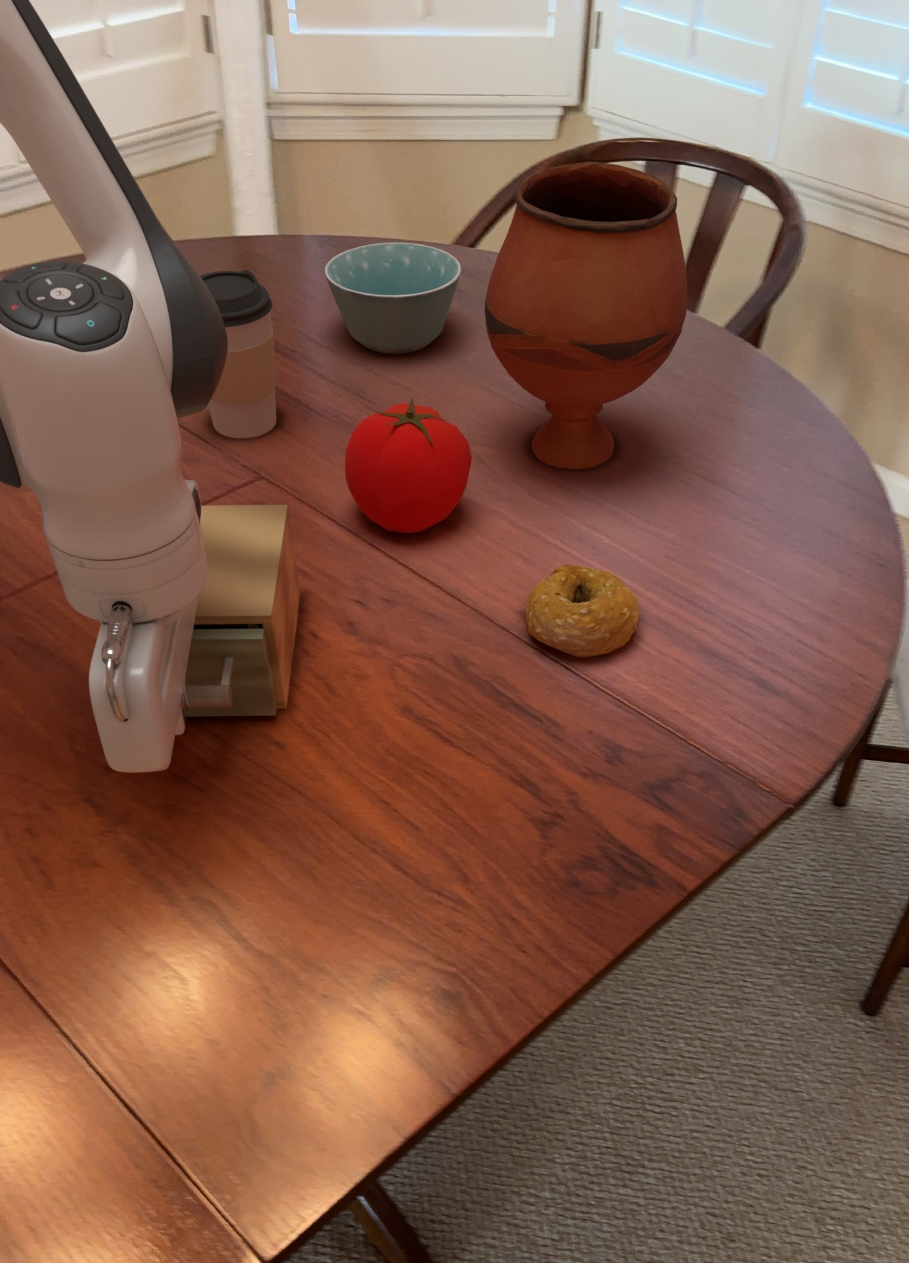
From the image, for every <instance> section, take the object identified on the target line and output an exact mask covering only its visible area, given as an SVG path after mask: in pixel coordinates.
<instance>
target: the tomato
mask: <svg viewBox="0 0 909 1263" xmlns="http://www.w3.org/2000/svg"><path fill="white" fill-rule="evenodd" d="M413 399H414V398H411V399H410V401H409V403H408V402H407V403H406V402H404V403H397V404H396V403H395V404H392V405H391V406H390V407H389V408H387V409H386V410H385V411H383V412H382V411H376V410H372V412H373V414H371V415H369V416H367V417H365V418H364V419H362V420H361V421H360V422H359V423H358V424H357V426H356V427H355V429H354V430H353V432H352V433H351V435H350V438H349V441H348V443H347V446H346V449H345V456H344V457H345V458H344V472H345V473H344V474H345V480H346V485H347V488H348V490H349V493H350V494H351V496H352V498H353V500H354V502H355V504H356V505H357V506H358V507H359V509H360V510H361V512H363V513H364V515H365V516H366V517H367V519H369V520H370V521H372V522H374V524H377V525H379V526H380V527H382V528H383V529H385V530H386V531H389V532H395V533H400V534H413V533H421V532H423V531H425V530H428V529H429V528H431V527H433V526H435V525H437V524H438V523H441V522H443V521H444V520H446V519H447V518H448V517H449V516H450V514H451V513H452V512H453V511H454V510H455V508H456V507H457V506H458V505H459V503H460V502H461V500H462V497H463V495H464V492H465V490H466V488H467V485H468V483H469V477H470V471H471V465H472V460H473V457H472V452H471V447H470V442H469V440H468V439H467V438H466V436H465V435H464V434H463V433H462V431H461V430H460V429H459V427H458V426H457V425H455V424H452V423H450V422H449V420H448V419H444V418H443V416H442V415H441V414H440V412H438V411H437V410H436V409H434V408H432V407H430V406H424V405H418V404H415V403H414V400H413Z"/></svg>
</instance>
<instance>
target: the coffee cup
mask: <svg viewBox="0 0 909 1263" xmlns="http://www.w3.org/2000/svg"><path fill="white" fill-rule="evenodd" d="M199 276H200V277H201V279H202V280H203V281H204V283H205V285H206V286H207V288H208V289H209V291H210V293H211V295H212V296H213V298H214V300H215V302H216V304H217V306H218V308H219V311H220V313H221V316H222V319H223V322H224V325H225V329H226V333H227V340H228V350H227V356H226V361H225V366H224V369H223V372H222V376H221V378H220V381H219V384H218V386H217V388H216V391H215V393H214V395H213V396H212V398H211V400H210V402H209V404H208V405H207V407H208V409H209V410H208V411H209V414H210V417H211V422H212V425H213V428H214V430H215V431H216V432H217V433H219V434H220V435H223V436H225V437H228V438H233V439H250V438H256V437H260V436H263V435H265V434H266V433H267V434H268V432H270V431H272V430H273V428H274V427H275V426H276V424H277V404H276V387H277V386H276V384H277V383H276V361H275V357H276V356H275V338H274V336H275V335H274V327H273V325H272V309H273V300H272V299H271V297H270V293H269V291H268V289H266V288H265V287H264V286H263V285H262V284H260V283H259V281H258V279H257V277H256V275H255V274H254V273H253V272H252V271H250V270H249V269H243V270H240V271H235V270H218V271H212V272H207V273H204V274H202V275H199Z"/></svg>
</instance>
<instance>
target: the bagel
mask: <svg viewBox="0 0 909 1263" xmlns="http://www.w3.org/2000/svg"><path fill="white" fill-rule="evenodd" d="M639 617H640V607H639V601H638V597H637V596H636V594H635V593H634V592H633V591H631V589H630V588H629V587H628V586H626V585H625V584H624V582H623V581H622V579H621V578H619V577H618V576H616V575H615V574H613V573H612V572H609V571H606V570H600V569H597V568H591V567H587V566H582V565H578V564H577V565H575V564H564V565H560V566H558V567H556V568H554V570H551V574H550V575H549V576H547V577H545V578H544V579H542V580H541V581H540V582H539V583H537V584H536V585H535V586H534V587H533V588H532V590H530V592H529V595H528V597H527V599H526V604H525V622H526V626H527V630H528V633H529V635H530V636H531V637H533V638H535V639H536V640H537V641H538V642H540V643H542V644H545V645H546V646H548V647H550V648H554V649H555V650H557V651H559V652H563V653H565V654H567V655H571V656H574V657H578V658H591V657H592V658H593V657H597V656H601V655H607V654H609V653H612V652H613V651H615V650H618V649H620V648H621V647H623V646H625V645H626V643H628V642H629V641H630V639H631V637H632V636H633V634H634V633H635V632H636V630H638V621H639Z"/></svg>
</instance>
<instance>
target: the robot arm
mask: <svg viewBox="0 0 909 1263" xmlns="http://www.w3.org/2000/svg"><path fill="white" fill-rule="evenodd" d="M0 124H1V126H2V127H3V128H4V129H5V131H6V132H7V133H8V134H9V135H10V137H11V139H12V140H13V141H14V143H15V144H16V146H17V147H18V149H19V151H20V153H21V154H22V156H23V157H24V159H25V160H26V162H27V164H28V165H29V167H30V169H31V170H32V172H33V173H34V175H35V176H36V178H37V180H38V182H39V183H40V185H41V186H42V188H43V189H44V191H45V193H46V194H47V196H48V198H49V199H50V201H51V202H52V204H53V206H54V207H55V209H56V211H57V212H58V214H59V216H60V217H61V218H62V220H63V222H64V224H65V225H66V227H67V229H69V231H70V233H71V235H72V236H73V238H74V239H75V241H76V243H77V245H78V246H79V247H80V249H81V251H82V253H83V256H84V260H85V261H83V262H77V261H67V260H59V261H58V260H54V261H53V260H52V261H50V260H49V261H42V262H37V263H31V264H27V265H24V266H21V267H18V268H16V269H14V270H12V271H10V272H9V273H7V274H5V275H4V276H2V277H0V483H2V484H4V485H7V486H9V487H12V488H16V489H20V488H21V487H25V488H28V489H30V490H31V491H32V492H33V493H34V495H35V496H36V498H37V500H38V502H39V505H40V510H41V517H42V518H41V519H42V530H43V531H42V532H43V534H44V537H45V540H46V543H47V546H48V548H49V551H50V555H51V557H52V560H53V564H54V566H55V570H56V573H57V576H58V578H59V581H60V585H61V588H62V591H63V594H64V596H65V599H66V601H67V603H68V604H69V605H70V606H71V607H72V609H73V610H75V611H76V612H77V613H79V614H80V615H82V616H84V617H86V618H88V619H91V620H94V621H97V622H98V623H99V624H100V626H99V629H98V633H97V638H96V641H95V644H94V648H93V653H92V656H91V660H90V665H89V669H88V690H89V698H90V703H91V708H92V713H93V717H94V720H95V725H96V729H97V732H98V737H99V739H100V743H101V746H102V747H101V748H102V750H103V754H104V757H105V761H106V763H107V765H108V766H109V767H110V769H112V770H114V771H116V772H119V773H132V774H134V773H135V774H138V773H139V774H141V773H153V772H161V771H162V772H163V771H166V770H167V769H169V767H170V765H171V762H172V755H173V750H174V744H175V738H176V736H180V735H183V734H184V733H185V730H186V724H187V723H186V722H187V717H186V716H187V711H188V706H189V702H188V697H187V693H186V689H185V688H186V685H185V675H186V669H187V663H188V657H189V651H190V646H191V640H192V634H193V628H194V622H195V616H196V611H197V605H198V599H199V594H200V592H201V591H202V589H203V588H204V586H205V584H206V581H207V578H208V566H207V561H206V556H205V551H204V542H203V537H202V532H201V528H200V518H201V506H202V500H201V499H202V498H201V494H200V488H199V485H198V482H197V481H196V480H195V479H186V478H185V479H184V476H183V474H182V473H183V472H182V468H181V455H182V449H183V448H182V447H183V446H182V444H183V442H182V434H181V430H180V426H179V421H178V419H181V418H185V417H188V416H192V415H195V414H199V413H201V412H203V411H204V410H205V409H206V408H207V407H208V404H209V402H210V400H211V398H212V396H213V395H214V393H215V391H216V388H217V386H218V384H219V381H220V378H221V376H222V372H223V369H224V366H225V361H226V356H227V350H228V340H227V333H226V329H225V325H224V322H223V319H222V316H221V313H220V311H219V308H218V306H217V304H216V302H215V300H214V298H213V296H212V295H211V293H210V291H209V289H208V288H207V286H206V285H205V283H204V281H203V280H202V279H201V277H200V276H201V275H200V274H199V273H198V271H197V270H196V268H194V266H193V265H192V263H191V262H190V261H189V259H188V258H187V257H186V256H185V254H184V253H183V252H182V250H181V249H180V248H179V246H178V245H177V243H176V242H175V241H174V240H173V238H172V237H171V236H170V235H169V233H168V231H167V230H166V229H165V227H164V225H162V222H161V221H160V219H159V218H158V216H157V215H156V213H155V211H154V209H153V208H152V206H151V204H150V203H149V201H148V199H147V197H146V196H145V193H143V191H142V189H141V187H140V186H139V184H138V182H137V181H136V179H135V177H134V176H133V174H132V172H131V170H130V168H129V167H128V165H127V163H126V162H125V159H124V158H123V157H122V154H121V153H120V151H119V149H118V148H117V146H116V144H115V143H114V141H113V139H112V137H111V136H110V133H108V130H107V129H106V127H105V126H104V123H103V122H102V120H101V118H100V117H99V115H98V113H97V111H96V110H95V108H94V107H93V105H92V103H91V101H90V99H89V98H88V96H87V94H86V93H85V91H84V89H83V88H82V86H81V84H80V81H78V79H77V77H76V75H75V74H74V72H73V70H72V68H71V67H70V65H69V63H68V62H67V60H66V58H65V57H64V55H63V53H62V52H61V50H60V48H59V46H58V45H57V43H56V42H55V39H54V38H53V37H52V35H51V33H50V32H49V30H48V28H47V27H46V25H45V23H44V22H43V20H42V19H41V16H40V15H39V13H38V12H37V11H36V9H35V7H34V6H33V4H32V3H31V1H30V0H0Z"/></svg>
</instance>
